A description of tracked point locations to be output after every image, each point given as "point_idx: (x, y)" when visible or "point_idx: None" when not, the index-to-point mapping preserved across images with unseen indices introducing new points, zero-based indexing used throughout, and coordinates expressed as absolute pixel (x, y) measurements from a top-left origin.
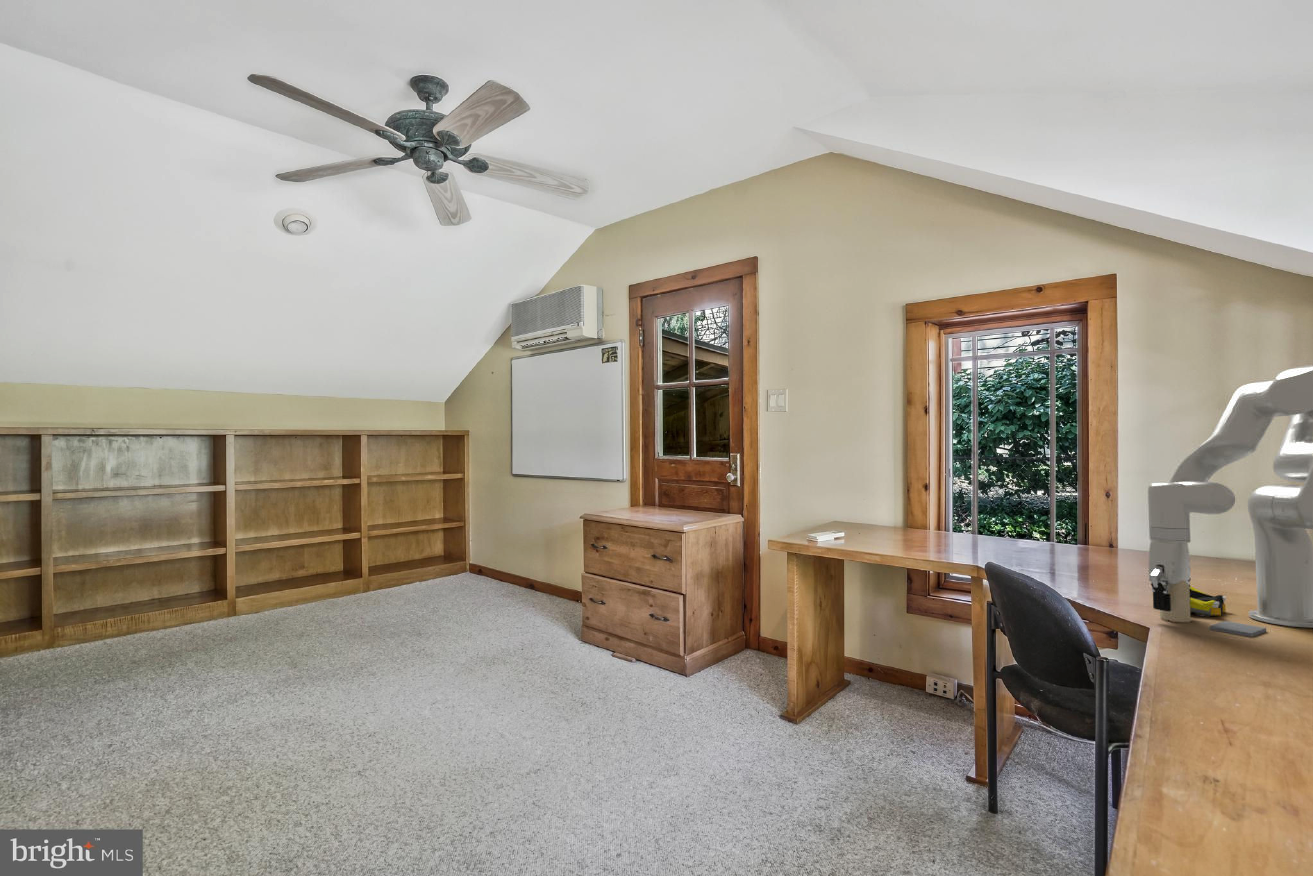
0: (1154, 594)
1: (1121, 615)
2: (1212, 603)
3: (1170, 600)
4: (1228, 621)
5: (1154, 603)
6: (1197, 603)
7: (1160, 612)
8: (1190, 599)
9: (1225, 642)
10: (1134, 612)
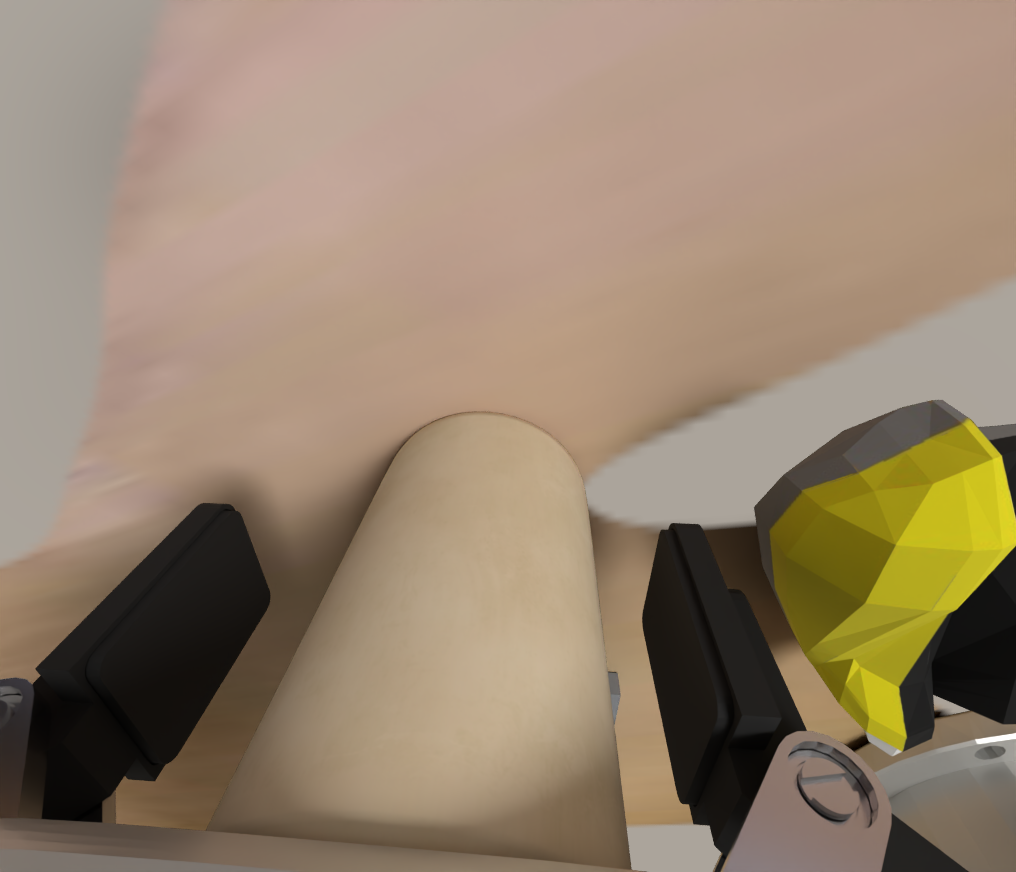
0: (81, 644)
1: (170, 143)
2: (856, 716)
3: (208, 697)
4: (616, 705)
5: (172, 546)
6: (818, 642)
7: (407, 454)
8: (845, 635)
9: (213, 726)
10: (465, 153)
